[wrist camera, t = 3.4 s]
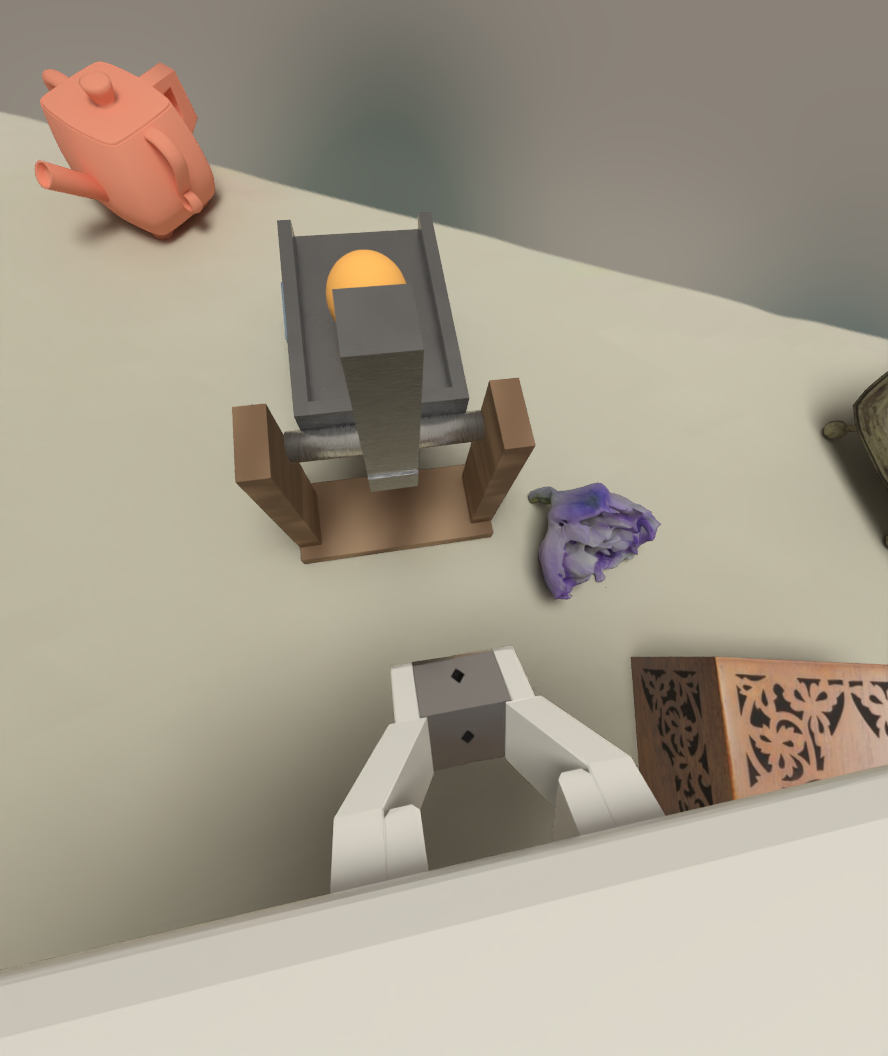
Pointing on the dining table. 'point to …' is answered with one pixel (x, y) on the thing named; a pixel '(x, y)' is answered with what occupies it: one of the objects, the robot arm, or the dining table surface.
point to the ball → (361, 273)
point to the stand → (390, 515)
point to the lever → (373, 356)
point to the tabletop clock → (869, 426)
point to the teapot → (127, 145)
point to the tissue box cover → (753, 725)
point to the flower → (588, 534)
